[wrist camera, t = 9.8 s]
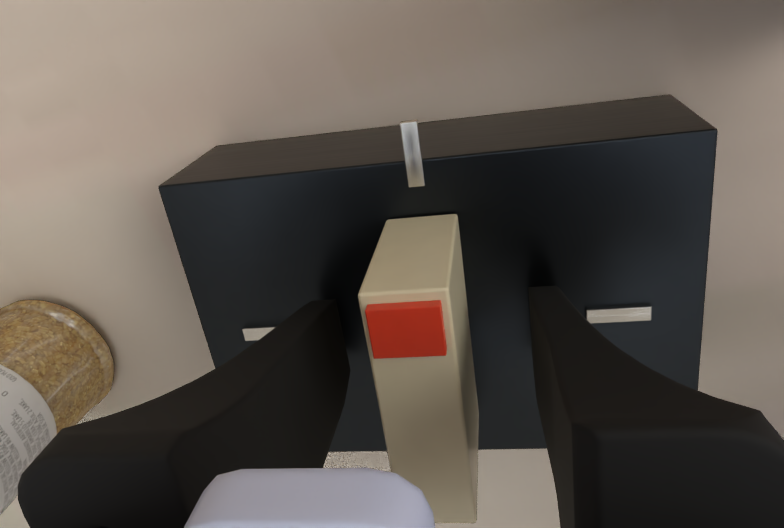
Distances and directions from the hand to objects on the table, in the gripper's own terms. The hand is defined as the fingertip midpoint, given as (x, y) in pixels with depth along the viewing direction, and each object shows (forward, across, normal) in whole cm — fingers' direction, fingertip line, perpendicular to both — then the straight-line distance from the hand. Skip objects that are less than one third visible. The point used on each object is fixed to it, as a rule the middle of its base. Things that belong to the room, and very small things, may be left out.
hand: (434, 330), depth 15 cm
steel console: (+4, 0, 0) cm, 4 cm away
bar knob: (0, 0, 0) cm, 0 cm away
